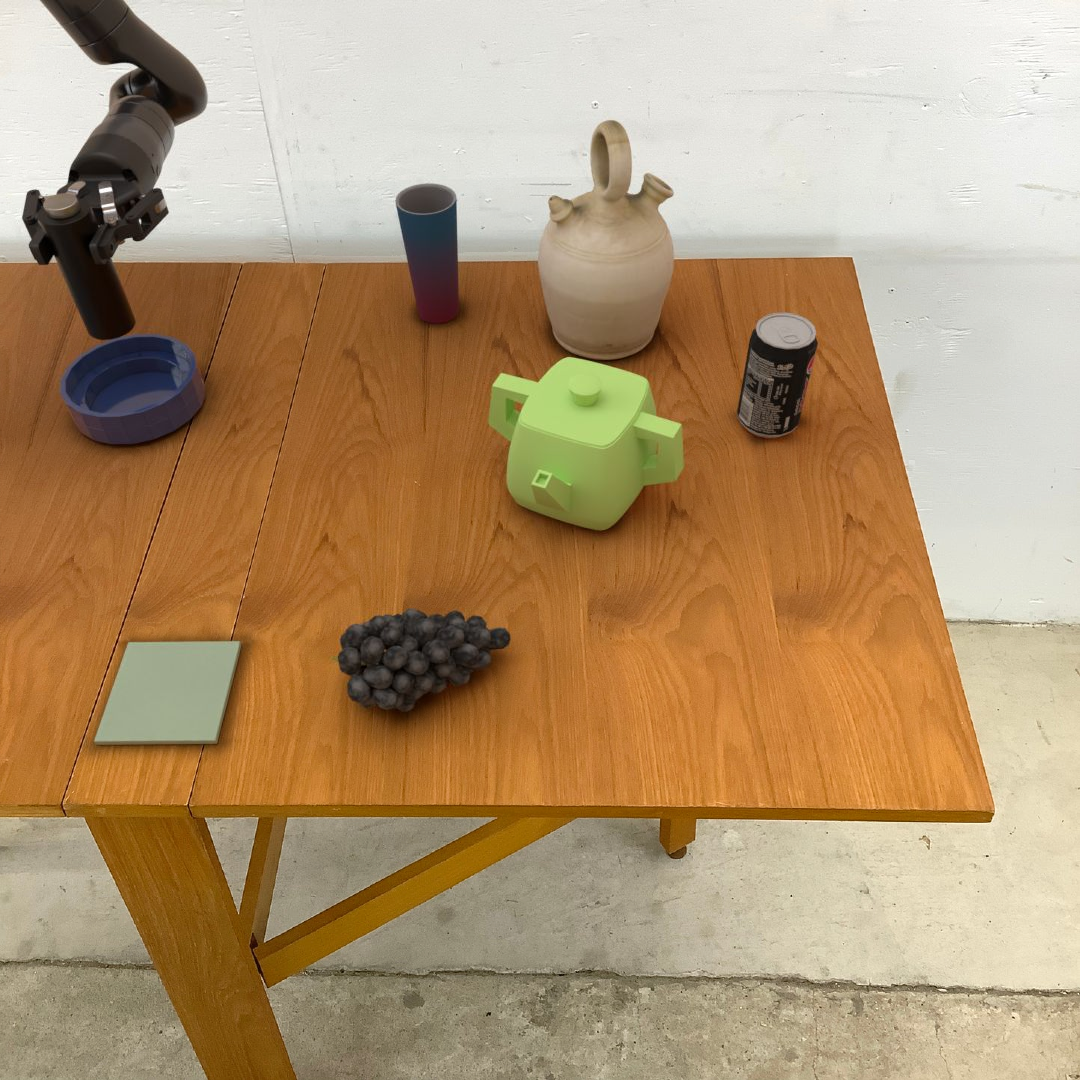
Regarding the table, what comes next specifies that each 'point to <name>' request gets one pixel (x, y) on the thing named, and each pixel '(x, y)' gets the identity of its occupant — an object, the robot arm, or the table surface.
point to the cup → (431, 248)
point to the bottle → (85, 267)
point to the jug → (607, 256)
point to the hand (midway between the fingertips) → (67, 256)
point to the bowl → (133, 388)
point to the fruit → (414, 655)
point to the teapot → (583, 441)
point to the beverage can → (776, 374)
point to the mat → (170, 693)
